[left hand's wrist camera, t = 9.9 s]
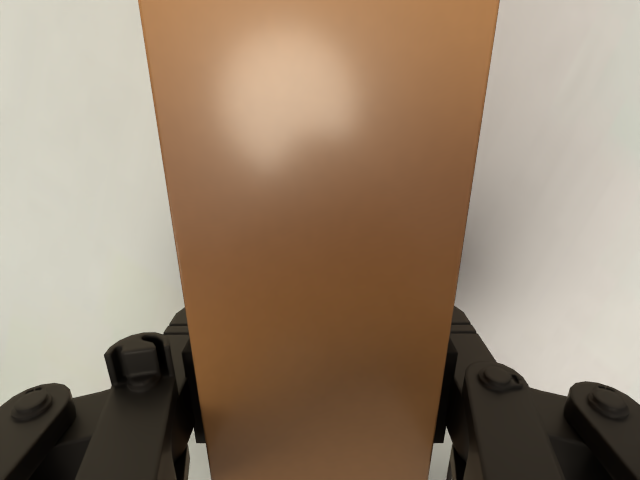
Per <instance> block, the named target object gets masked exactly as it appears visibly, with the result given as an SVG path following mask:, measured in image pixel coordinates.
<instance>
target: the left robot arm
mask: <svg viewBox="0 0 640 480" xmlns="http://www.w3.org/2000/svg"><path fill="white" fill-rule="evenodd" d="M104 357H105V361H106V365H107V369H108V372H109V376H110V380H111V384H112V386H111V389H108V390H105V391H102V392H98V393H93V394H89V395H85V396H80V397H76V398H72V395H71V392H70V389H69V388H68V387H66V386H65V385H63V384H57V383H51V384H43V385H39V386H36V387H33V388H30V389H27V390H25V391H23V392H21V393H19V394H17V395H15V396H14V397H12V398H11V399H10V400H8V401H7V402H6V403H4V404H3V405H2V406H1V407H0V480H188V473H189V463H190V456H189V449H188V444H187V443H188V441H189V438H190V435H191V433H192V430H193V428H194V432H195V438H196V443H206V441H205V434H204V428H203V421H202V415H201V408H200V402H199V395H198V388H197V382H196V375H195V369H194V362H193V356H192V349H191V343H190V336H189V330H188V323H187V317H186V310H185V308H183V309H182V310H181V311H179V312H178V313H176V315H175V316H174V318H173V319H172V321H171V322H170V324H169V326H168V327H167V328H166V330H165V331H164V335H163V334H159V333H155V332H147V333H140V334H135V335H131V336H129V337H126V338H124V339H122V340H119V341H118V342H117V343H115V344H114V345H112V346H111V347H110V348H109V349H108V350H107V352H106V353H105V354H104ZM446 427H447V429H448V432H449V435H450V437H451V440H452V442H453V444H452V449H451V455H450V461H449V466H448V472H447V479H446V480H451V479H452V480H640V405H639V404H638V403H637V402H635V401H634V400H633V399H632V398H630V397H629V396H628V395H626V394H624V393H622V392H620V391H618V390H616V389H614V388H612V387H609V386H606V385H603V384H600V383H595V382H586V381H585V382H579V383H575V384H574V385H573V386H572V387H571V388H570V390H569V393H568V396H562V395H558V394H553V393H549V392H544V391H540V390H537V389H533V388H530V387H529V386H528V384H527V383H526V381H525V380H524V378H523V377H522V376H521V375H520V374H519V373H517V372H516V371H515V370H513V369H511V368H509V367H507V366H505V365H503V364H500V363H497V362H496V360H495V359H494V357H493V356H492V354H491V353H490V351H489V350H488V348H487V347H486V345H485V344H484V342H483V341H482V339H481V338H480V336H479V335H478V334H476V330H475V329H474V327H473V326H472V325H471V324H470V321H469V320H468V318H467V317H466V315H465V314H464V312H462V311H461V310H460V309H458V308H457V307H455V306H454V309H453V315H452V322H451V329H450V335H449V342H448V349H447V355H446V362H445V369H444V375H443V382H442V389H441V395H440V402H439V409H438V415H437V422H436V429H435V435H434V442H433V443H443V442H444V436H445V430H446Z"/></svg>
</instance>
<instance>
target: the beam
mask: <svg viewBox="0 0 640 480" xmlns="http://www.w3.org/2000/svg"><path fill="white" fill-rule="evenodd" d="M499 2H500V0H138V3H139V9H140V16H141V22H142V29H143V36H144V42H145V49H146V55H147V62H148V68H149V75H150V81H151V88H152V94H153V101H154V107H155V114H156V120H157V127H158V134H159V140H160V147H161V153H162V160H163V166H164V173H165V179H166V186H167V192H168V199H169V205H170V212H171V219H172V225H173V232H174V238H175V245H176V251H177V258H178V264H179V271H180V277H181V284H182V290H183V297H184V303H185V310H186V317H187V323H188V330H189V336H190V343H191V349H192V356H193V362H194V369H195V375H196V382H197V388H198V395H199V402H200V408H201V415H202V421H203V428H204V434H205V441H206V447H207V454H208V460H209V467H210V473H211V480H428V475H429V469H430V462H431V455H432V449H433V442H434V435H435V429H436V422H437V415H438V409H439V402H440V395H441V389H442V382H443V375H444V369H445V362H446V355H447V349H448V342H449V335H450V329H451V322H452V315H453V309H454V302H455V295H456V289H457V282H458V275H459V269H460V262H461V255H462V249H463V242H464V235H465V229H466V222H467V215H468V209H469V202H470V195H471V188H472V182H473V175H474V168H475V162H476V155H477V148H478V142H479V135H480V128H481V122H482V115H483V108H484V102H485V95H486V88H487V82H488V75H489V68H490V62H491V55H492V48H493V42H494V35H495V28H496V22H497V15H498V8H499Z"/></svg>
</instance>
